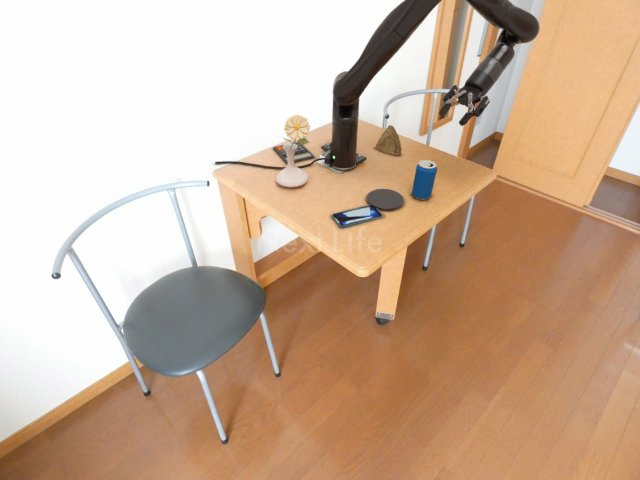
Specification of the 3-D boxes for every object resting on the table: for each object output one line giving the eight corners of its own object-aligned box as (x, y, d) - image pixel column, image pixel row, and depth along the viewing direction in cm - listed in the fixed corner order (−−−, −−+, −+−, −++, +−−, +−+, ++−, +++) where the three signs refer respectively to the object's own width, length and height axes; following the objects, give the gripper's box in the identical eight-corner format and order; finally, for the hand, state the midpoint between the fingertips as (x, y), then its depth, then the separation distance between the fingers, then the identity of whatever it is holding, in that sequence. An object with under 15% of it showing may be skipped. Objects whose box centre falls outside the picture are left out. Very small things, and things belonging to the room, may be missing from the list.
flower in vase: (270, 187, 130) (263, 117, 114) (284, 172, 138) (279, 105, 122) (305, 194, 127) (302, 123, 111) (316, 178, 135) (316, 110, 119)
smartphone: (384, 216, 116) (341, 227, 111) (383, 218, 117) (340, 229, 112) (372, 204, 121) (330, 213, 116) (372, 206, 122) (330, 216, 117)
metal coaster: (362, 207, 120) (363, 204, 120) (371, 188, 129) (371, 186, 128) (399, 214, 117) (400, 211, 117) (405, 194, 126) (406, 192, 125)
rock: (409, 150, 147) (400, 136, 153) (400, 136, 141) (391, 122, 147) (386, 166, 150) (378, 152, 156) (376, 153, 144) (368, 139, 151)
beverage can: (431, 202, 123) (438, 169, 115) (411, 199, 124) (417, 167, 116) (430, 191, 127) (437, 160, 120) (411, 189, 128) (417, 158, 121)
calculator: (299, 141, 156) (314, 155, 146) (299, 143, 157) (314, 157, 147) (273, 146, 152) (286, 162, 142) (273, 148, 153) (287, 164, 143)
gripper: (463, 64, 119) (430, 106, 121) (500, 74, 109) (463, 121, 112) (470, 78, 124) (438, 119, 127) (506, 90, 115) (471, 133, 117)
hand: (450, 120), depth 119 cm, fingers open, 8 cm apart
